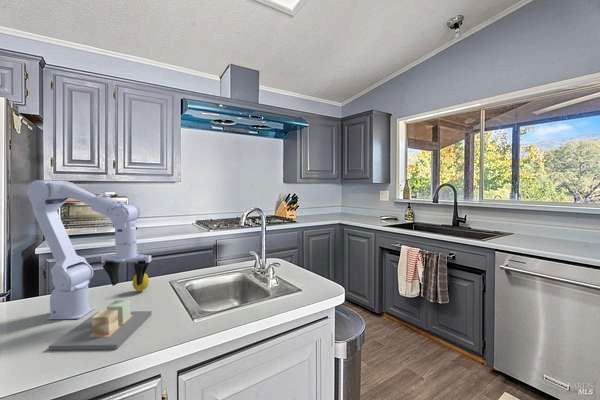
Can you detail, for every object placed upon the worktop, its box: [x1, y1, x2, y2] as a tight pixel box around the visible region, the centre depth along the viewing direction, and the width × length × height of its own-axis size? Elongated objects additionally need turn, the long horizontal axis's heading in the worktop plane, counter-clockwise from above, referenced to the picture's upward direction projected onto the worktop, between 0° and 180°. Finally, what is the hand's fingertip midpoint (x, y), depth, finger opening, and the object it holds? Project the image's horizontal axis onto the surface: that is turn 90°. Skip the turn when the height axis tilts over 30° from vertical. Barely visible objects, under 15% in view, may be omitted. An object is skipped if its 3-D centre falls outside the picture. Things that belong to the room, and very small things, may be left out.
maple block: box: [92, 309, 118, 335], centre depth 81 cm, size 4×4×5 cm
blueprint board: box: [48, 310, 152, 351], centre depth 83 cm, size 17×19×1 cm
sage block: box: [106, 299, 131, 323], centre depth 87 cm, size 4×4×5 cm
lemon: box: [132, 273, 150, 293], centre depth 112 cm, size 6×6×8 cm
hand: (127, 284), depth 92 cm, fingers open, 7 cm apart
